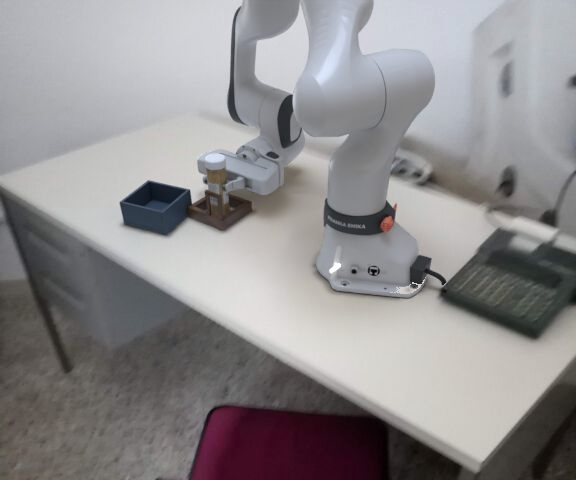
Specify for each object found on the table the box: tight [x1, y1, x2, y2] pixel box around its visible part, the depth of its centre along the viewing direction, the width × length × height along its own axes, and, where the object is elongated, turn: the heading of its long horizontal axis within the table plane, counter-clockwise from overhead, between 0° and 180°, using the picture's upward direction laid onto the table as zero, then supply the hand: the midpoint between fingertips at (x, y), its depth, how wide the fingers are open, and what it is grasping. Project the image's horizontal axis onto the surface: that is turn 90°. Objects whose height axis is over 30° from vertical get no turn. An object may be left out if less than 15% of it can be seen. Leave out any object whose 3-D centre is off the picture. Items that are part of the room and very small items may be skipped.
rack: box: [187, 189, 253, 231], centre depth 133 cm, size 10×10×8 cm
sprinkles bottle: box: [205, 153, 231, 216], centre depth 132 cm, size 5×5×13 cm
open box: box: [118, 179, 193, 236], centre depth 133 cm, size 11×11×6 cm
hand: (215, 184), depth 130 cm, fingers closed on sprinkles bottle, 4 cm apart
